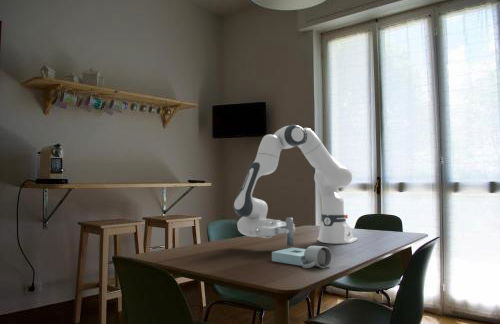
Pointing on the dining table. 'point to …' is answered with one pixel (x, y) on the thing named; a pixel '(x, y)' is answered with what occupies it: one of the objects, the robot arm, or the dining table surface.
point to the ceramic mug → (317, 257)
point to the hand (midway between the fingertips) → (291, 230)
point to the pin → (290, 235)
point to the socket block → (289, 256)
